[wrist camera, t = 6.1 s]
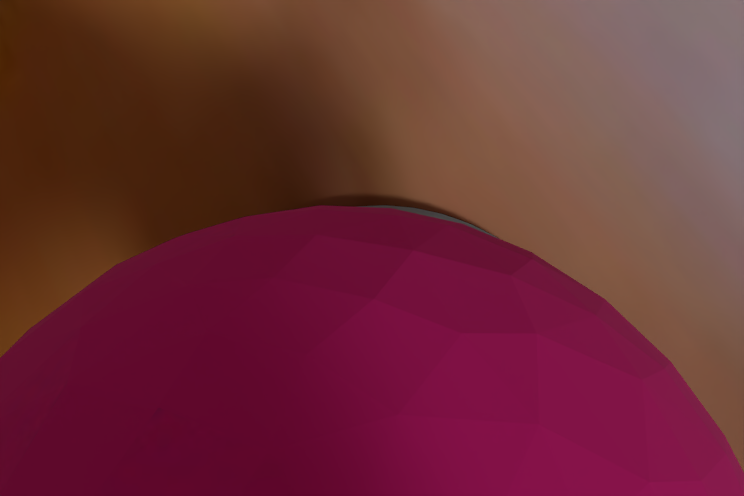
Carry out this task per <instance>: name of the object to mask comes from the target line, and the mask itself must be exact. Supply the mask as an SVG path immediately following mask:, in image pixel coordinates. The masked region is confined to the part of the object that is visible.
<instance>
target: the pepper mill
mask: <svg viewBox="0 0 744 496" xmlns="http://www.w3.org/2000/svg"><path fill="white" fill-rule="evenodd" d="M0 496H744V472H743V471H742V469H741V467H740V465H739V463H738V461H737V459H736V457H735V455H734V453H733V451H732V449H731V447H730V445H729V443H728V441H727V439H726V437H725V435H724V434H723V433H722V431H721V430H720V429H719V427H718V426H717V424H716V423H715V422H714V420H713V419H712V418H711V416H710V415H709V413H708V412H707V411H706V409H705V408H704V407H703V405H702V404H701V403H700V401H699V400H698V398H697V397H696V396H695V394H694V393H693V392H692V390H691V389H690V387H689V386H688V385H687V383H686V382H685V381H684V379H683V378H682V376H681V375H680V374H679V372H678V371H677V370H676V368H675V367H674V366H673V364H672V363H671V362H670V361H669V360H668V359H667V358H666V357H665V356H664V355H663V354H662V353H661V352H660V351H659V350H658V349H657V348H656V347H655V346H654V345H653V344H652V343H650V342H649V341H648V340H647V339H646V338H645V337H644V336H643V335H642V334H641V333H640V332H639V331H638V330H637V329H636V328H635V327H634V326H633V325H632V324H630V323H629V322H628V321H627V320H626V319H625V318H624V317H623V316H622V315H621V314H620V313H619V312H618V311H617V310H616V309H615V308H614V307H613V306H612V305H611V304H609V303H608V302H607V301H606V300H605V299H604V298H602V297H601V296H599V295H598V294H596V293H594V292H593V291H591V290H590V289H588V288H587V287H585V286H583V285H582V284H580V283H579V282H577V281H576V280H574V279H572V278H571V277H569V276H568V275H566V274H565V273H563V272H561V271H560V270H558V269H557V268H555V267H554V266H552V265H550V264H549V263H547V262H546V261H544V260H543V259H541V258H539V257H538V256H536V255H535V254H533V253H532V252H529V251H527V250H525V249H522V248H520V247H517V246H515V245H513V244H510V243H508V242H505V241H503V240H500V239H498V238H496V237H493V236H491V235H488V234H486V233H484V232H481V231H479V230H476V229H474V228H472V227H469V226H467V225H464V224H461V223H457V222H452V221H448V220H443V219H439V218H434V217H429V216H425V215H420V214H416V213H411V212H407V211H402V210H397V209H393V208H374V207H349V206H324V205H319V206H312V207H306V208H299V209H293V210H286V211H279V212H273V213H266V214H259V215H253V216H246V217H242V218H238V219H235V220H231V221H228V222H225V223H221V224H218V225H214V226H211V227H208V228H204V229H201V230H197V231H194V232H191V233H187V234H185V235H182V236H179V237H176V238H174V239H171V240H169V241H167V242H165V243H163V244H160V245H158V246H156V247H154V248H152V249H149V250H147V251H145V252H143V253H141V254H139V255H136V256H134V257H132V258H130V259H128V260H126V261H123V262H121V263H119V264H117V265H115V266H114V267H112V268H111V269H110V270H108V271H107V272H106V273H104V274H103V275H102V276H100V277H99V278H98V279H96V280H95V281H93V282H92V283H91V284H89V285H88V286H87V287H85V288H84V289H83V290H81V291H80V292H79V293H77V294H76V295H75V296H73V297H72V298H71V299H69V300H68V301H67V302H65V303H64V304H63V305H61V306H60V307H59V308H57V309H56V310H54V311H53V312H52V313H50V314H49V315H48V316H46V317H45V318H44V319H42V320H41V321H40V322H38V323H37V324H36V325H34V326H33V327H32V328H30V329H29V330H28V331H27V332H26V333H25V334H24V335H23V336H22V337H21V338H20V339H19V340H18V341H17V342H16V343H15V344H14V345H13V346H12V347H11V348H10V349H9V350H8V351H7V352H6V353H5V354H4V355H3V356H2V357H1V358H0Z"/></svg>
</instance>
